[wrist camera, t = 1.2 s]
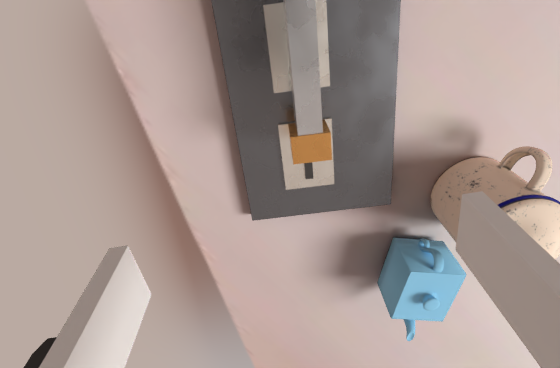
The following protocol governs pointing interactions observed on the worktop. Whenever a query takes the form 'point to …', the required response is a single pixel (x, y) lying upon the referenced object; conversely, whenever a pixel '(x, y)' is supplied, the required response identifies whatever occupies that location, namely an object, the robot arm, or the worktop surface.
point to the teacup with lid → (502, 195)
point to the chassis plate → (334, 100)
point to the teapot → (419, 281)
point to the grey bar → (305, 84)
